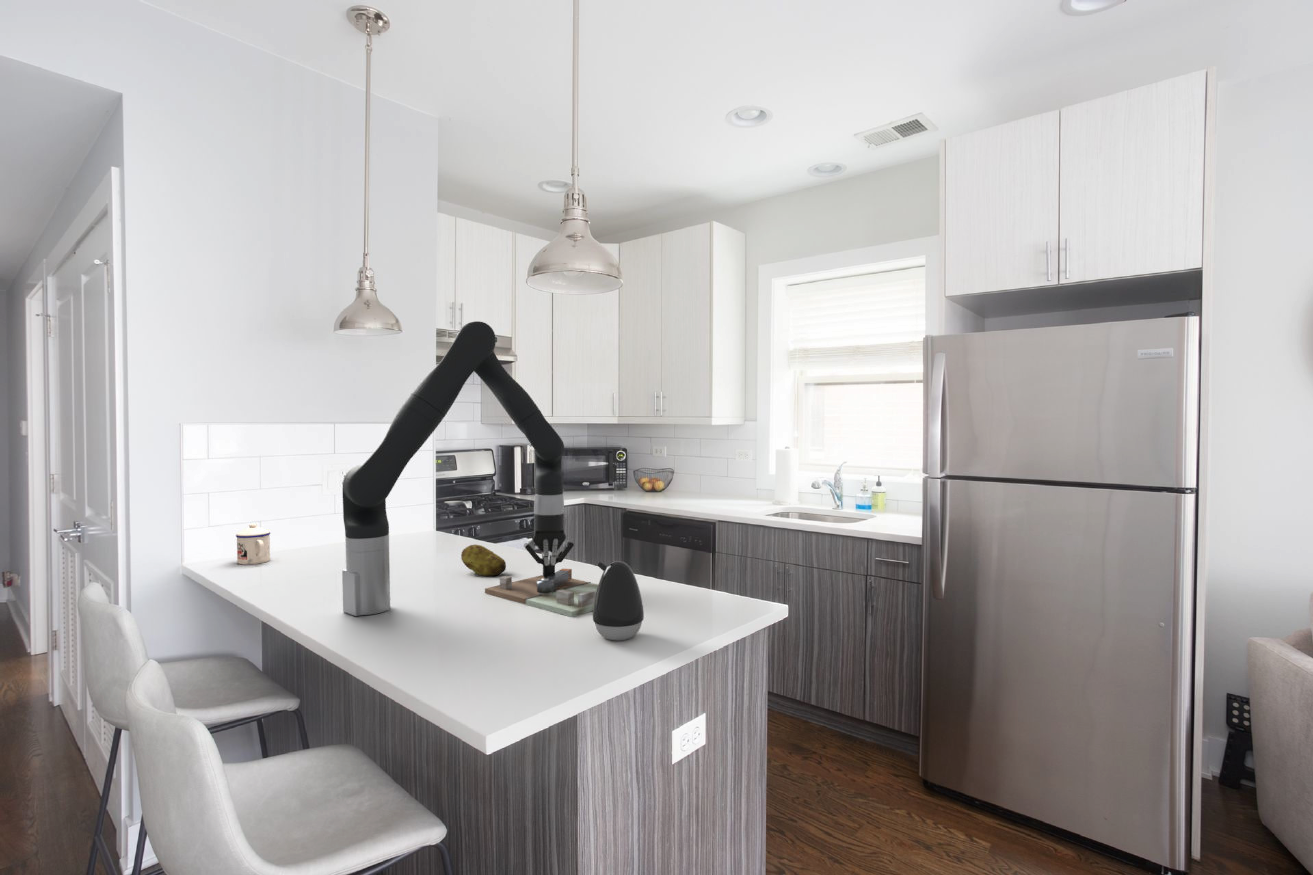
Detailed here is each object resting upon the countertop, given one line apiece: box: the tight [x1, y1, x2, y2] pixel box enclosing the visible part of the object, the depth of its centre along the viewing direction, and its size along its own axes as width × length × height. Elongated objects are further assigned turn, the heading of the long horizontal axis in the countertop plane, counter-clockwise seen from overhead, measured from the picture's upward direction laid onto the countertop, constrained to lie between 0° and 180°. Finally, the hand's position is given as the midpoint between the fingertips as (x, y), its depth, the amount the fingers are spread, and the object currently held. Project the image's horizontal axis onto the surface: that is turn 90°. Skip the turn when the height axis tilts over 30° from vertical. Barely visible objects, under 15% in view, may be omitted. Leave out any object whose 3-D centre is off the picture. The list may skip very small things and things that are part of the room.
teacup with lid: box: [235, 523, 271, 566], centre depth 210 cm, size 12×9×12 cm
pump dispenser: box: [592, 560, 645, 642], centre depth 138 cm, size 10×10×15 cm
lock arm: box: [537, 568, 573, 593], centre depth 172 cm, size 4×15×3 cm, turn 164°
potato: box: [460, 544, 507, 577], centre depth 193 cm, size 8×13×8 cm, turn 52°
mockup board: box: [484, 574, 599, 618], centre depth 170 cm, size 21×32×4 cm, turn 49°
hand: (548, 579), depth 176 cm, fingers closed
